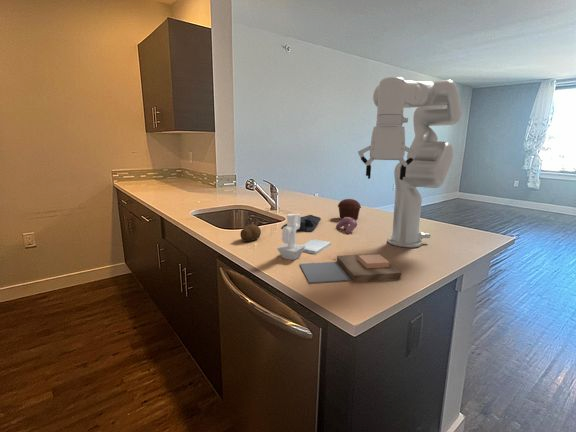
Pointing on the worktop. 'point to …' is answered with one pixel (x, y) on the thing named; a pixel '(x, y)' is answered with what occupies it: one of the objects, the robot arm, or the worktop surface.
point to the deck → (366, 270)
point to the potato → (250, 233)
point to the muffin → (349, 208)
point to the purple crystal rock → (347, 224)
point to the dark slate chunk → (307, 223)
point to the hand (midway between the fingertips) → (384, 178)
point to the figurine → (291, 238)
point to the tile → (373, 261)
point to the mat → (324, 272)
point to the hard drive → (315, 246)
